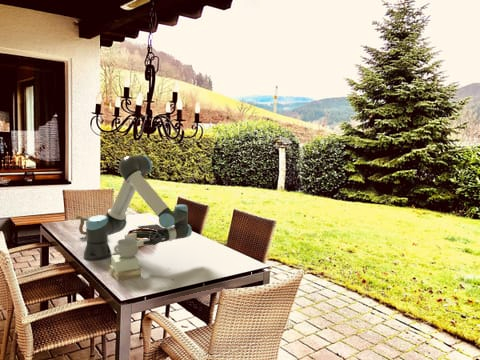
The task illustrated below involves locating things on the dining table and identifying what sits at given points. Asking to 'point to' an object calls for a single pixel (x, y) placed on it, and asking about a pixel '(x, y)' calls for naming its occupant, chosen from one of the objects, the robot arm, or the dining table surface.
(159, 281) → the dining table surface
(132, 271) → the tower base
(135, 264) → the tower top
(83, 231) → the tankard
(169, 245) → the dining table surface
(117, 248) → the teacup
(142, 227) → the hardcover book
